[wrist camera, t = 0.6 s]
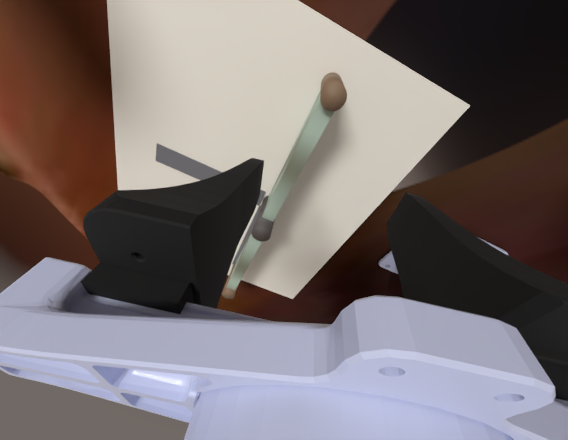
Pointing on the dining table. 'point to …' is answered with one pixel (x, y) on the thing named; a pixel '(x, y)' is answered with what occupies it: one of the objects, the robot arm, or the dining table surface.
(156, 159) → the board
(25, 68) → the dining table surface
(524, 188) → the dining table surface
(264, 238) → the fixed fence section
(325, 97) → the hinged fence section
